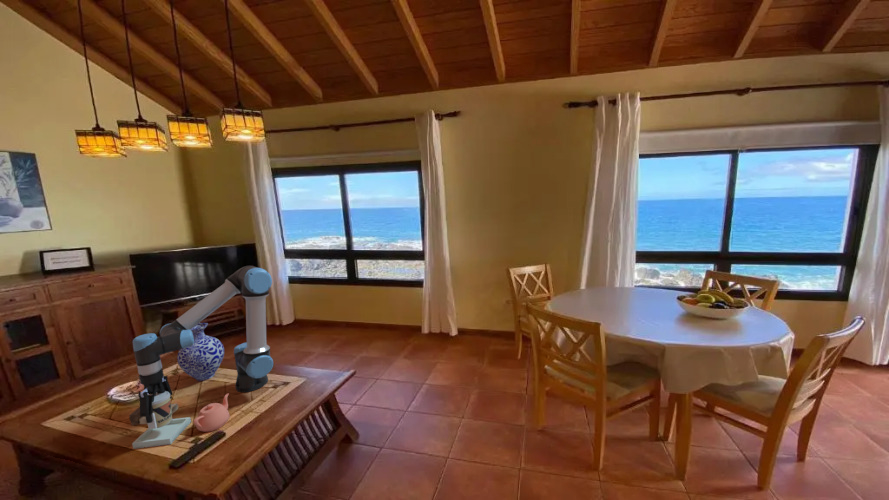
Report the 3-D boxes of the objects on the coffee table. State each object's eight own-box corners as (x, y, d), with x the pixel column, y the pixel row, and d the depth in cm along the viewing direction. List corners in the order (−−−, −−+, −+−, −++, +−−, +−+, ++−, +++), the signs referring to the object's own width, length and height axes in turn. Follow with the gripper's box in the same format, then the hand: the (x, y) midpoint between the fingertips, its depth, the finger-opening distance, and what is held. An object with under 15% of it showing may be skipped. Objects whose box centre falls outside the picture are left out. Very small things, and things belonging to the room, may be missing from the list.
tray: (191, 422, 155) (190, 417, 154) (170, 444, 141) (169, 438, 141) (157, 426, 153) (156, 421, 153) (133, 448, 139) (132, 443, 139)
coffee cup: (158, 431, 141) (153, 404, 139) (140, 429, 143) (134, 402, 141) (180, 416, 150) (175, 391, 148) (162, 415, 152) (157, 389, 150)
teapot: (185, 435, 146) (181, 415, 145) (221, 409, 163) (218, 390, 162) (208, 438, 143) (204, 418, 142) (242, 411, 161) (239, 393, 159)
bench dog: (154, 410, 165) (152, 401, 164) (138, 424, 155) (136, 414, 154) (147, 411, 164) (145, 402, 164) (131, 425, 155) (129, 415, 154)
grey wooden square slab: (178, 409, 166) (177, 403, 165) (164, 422, 156) (163, 416, 156) (156, 411, 165) (154, 405, 164) (140, 425, 155) (139, 419, 155)
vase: (196, 369, 204) (187, 321, 199) (234, 365, 207) (227, 317, 202) (172, 389, 183) (162, 336, 178) (215, 384, 186) (206, 332, 181)
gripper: (158, 360, 152) (167, 407, 156) (120, 386, 131) (131, 439, 135) (176, 358, 153) (185, 405, 157) (141, 384, 132) (152, 437, 136)
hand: (160, 421), depth 146 cm, fingers closed on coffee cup, 8 cm apart
